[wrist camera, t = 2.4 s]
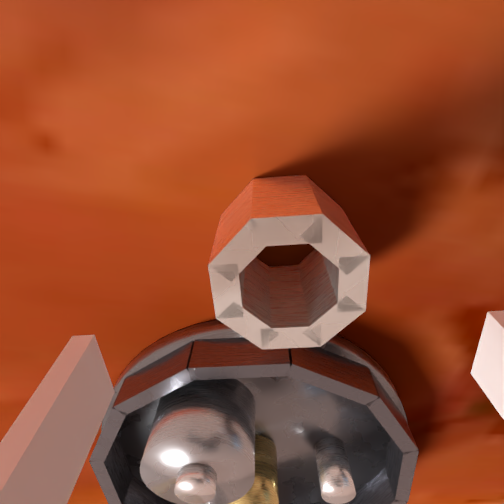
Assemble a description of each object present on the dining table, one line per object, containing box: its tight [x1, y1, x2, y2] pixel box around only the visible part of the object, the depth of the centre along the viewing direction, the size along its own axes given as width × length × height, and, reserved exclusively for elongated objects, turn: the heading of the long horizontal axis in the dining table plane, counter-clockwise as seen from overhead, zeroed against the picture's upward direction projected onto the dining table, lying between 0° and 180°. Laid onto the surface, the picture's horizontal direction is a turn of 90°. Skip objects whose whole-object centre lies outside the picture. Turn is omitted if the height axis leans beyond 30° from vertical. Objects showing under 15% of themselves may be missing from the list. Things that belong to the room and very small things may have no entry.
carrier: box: [89, 320, 419, 504], centre depth 26 cm, size 24×24×8 cm
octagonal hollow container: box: [208, 175, 370, 349], centre depth 19 cm, size 7×7×6 cm
